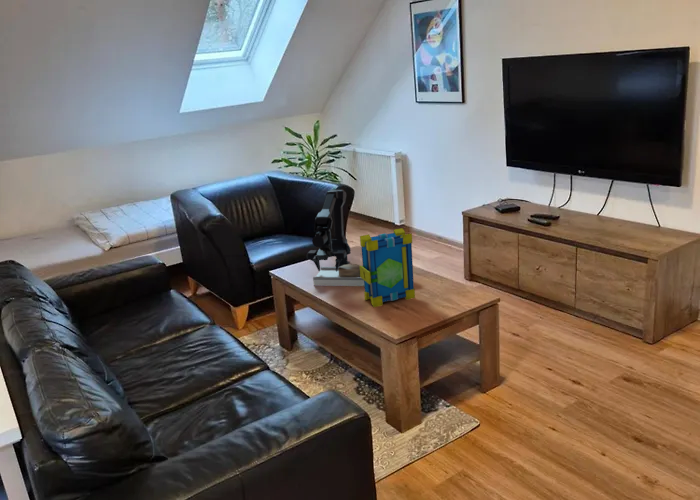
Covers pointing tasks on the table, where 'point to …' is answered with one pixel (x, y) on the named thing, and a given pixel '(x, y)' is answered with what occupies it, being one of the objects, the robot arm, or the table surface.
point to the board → (335, 278)
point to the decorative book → (387, 267)
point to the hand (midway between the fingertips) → (328, 271)
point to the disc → (349, 270)
